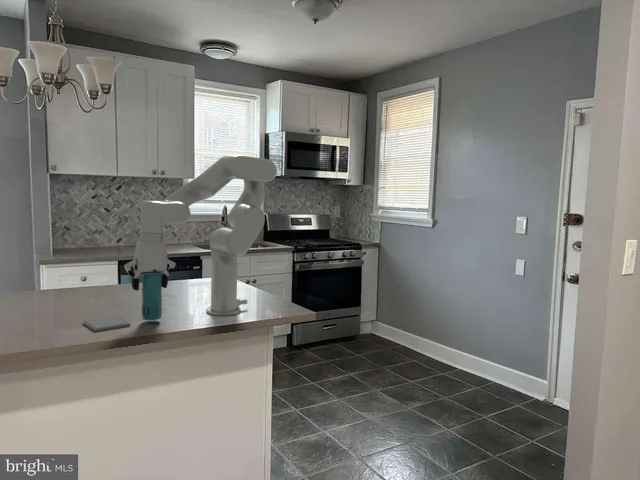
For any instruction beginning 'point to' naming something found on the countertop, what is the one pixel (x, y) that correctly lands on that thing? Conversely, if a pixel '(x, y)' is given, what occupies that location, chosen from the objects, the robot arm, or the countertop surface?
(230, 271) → the robot arm
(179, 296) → the countertop surface
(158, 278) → the beverage bottle
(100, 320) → the plate
